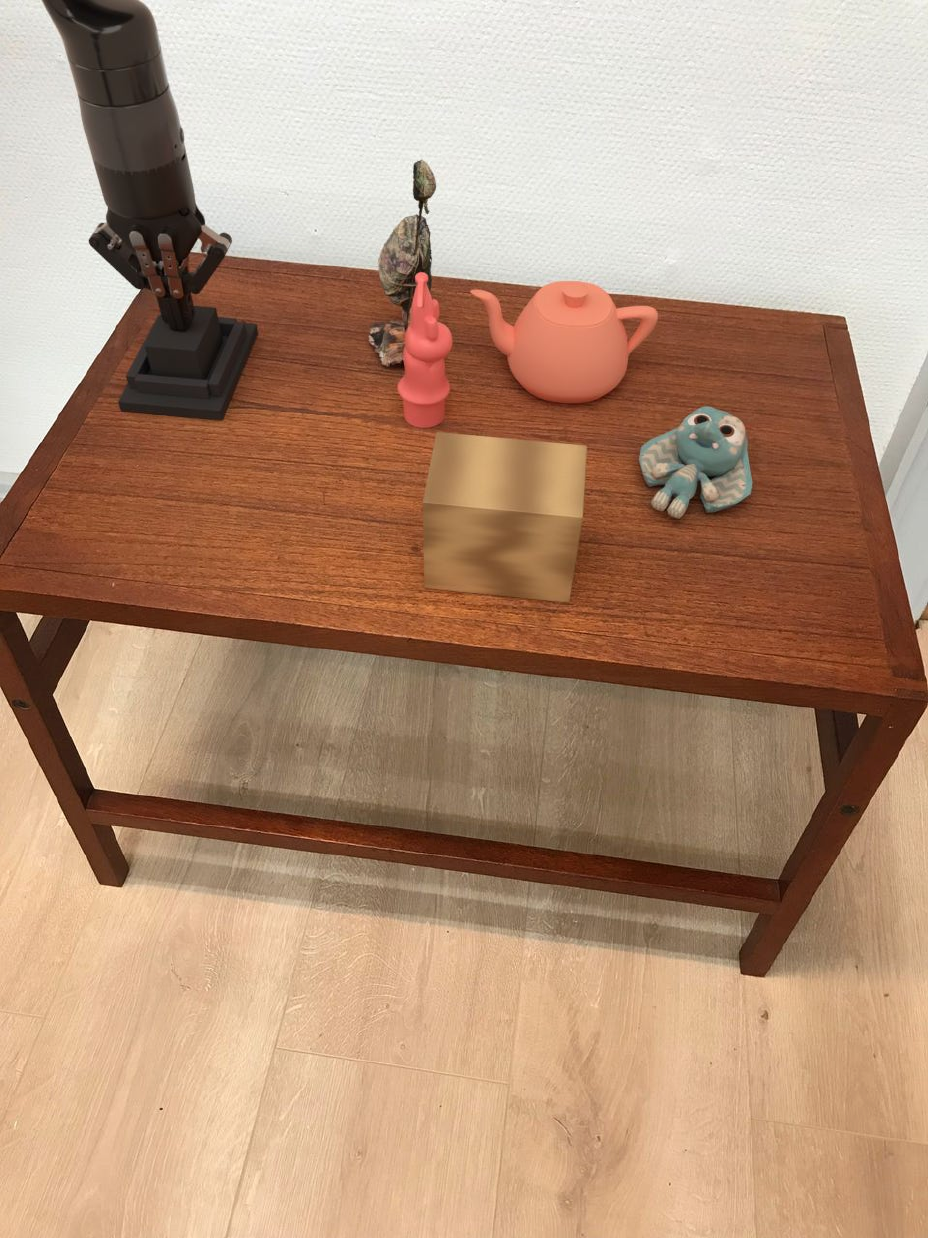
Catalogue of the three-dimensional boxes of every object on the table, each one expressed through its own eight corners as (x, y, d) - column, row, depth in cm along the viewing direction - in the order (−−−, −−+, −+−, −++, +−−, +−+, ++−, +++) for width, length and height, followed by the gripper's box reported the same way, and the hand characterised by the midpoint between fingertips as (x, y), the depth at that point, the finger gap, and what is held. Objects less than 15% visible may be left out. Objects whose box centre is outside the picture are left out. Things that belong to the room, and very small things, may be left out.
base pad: (222, 420, 93) (217, 398, 91) (120, 411, 94) (113, 388, 92) (258, 333, 102) (254, 310, 100) (165, 325, 103) (159, 302, 100)
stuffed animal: (612, 456, 83) (679, 364, 87) (608, 506, 89) (671, 417, 94) (728, 508, 79) (791, 409, 84) (716, 556, 86) (776, 462, 90)
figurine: (451, 433, 93) (452, 294, 81) (396, 432, 93) (390, 292, 81) (452, 399, 96) (454, 259, 84) (400, 397, 96) (394, 258, 84)
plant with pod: (451, 310, 105) (452, 120, 89) (440, 376, 98) (439, 182, 82) (376, 305, 105) (364, 115, 90) (359, 370, 98) (344, 176, 83)
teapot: (650, 413, 95) (668, 330, 88) (465, 406, 95) (467, 322, 88) (642, 338, 102) (657, 255, 95) (470, 331, 103) (472, 248, 95)
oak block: (424, 588, 81) (422, 502, 73) (437, 519, 86) (436, 431, 78) (569, 603, 80) (583, 517, 72) (573, 532, 85) (587, 445, 77)
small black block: (204, 384, 95) (196, 350, 92) (153, 380, 95) (144, 345, 92) (223, 341, 99) (216, 307, 96) (175, 337, 99) (166, 302, 96)
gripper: (41, 160, 78) (100, 343, 92) (203, 173, 77) (238, 355, 91) (75, 117, 83) (127, 297, 96) (228, 128, 82) (258, 308, 96)
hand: (181, 325), depth 94 cm, fingers closed
